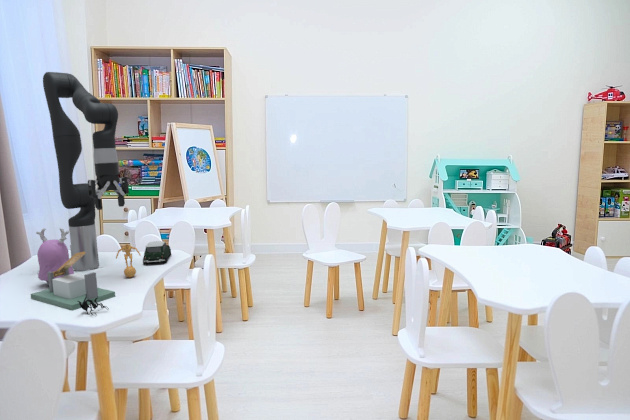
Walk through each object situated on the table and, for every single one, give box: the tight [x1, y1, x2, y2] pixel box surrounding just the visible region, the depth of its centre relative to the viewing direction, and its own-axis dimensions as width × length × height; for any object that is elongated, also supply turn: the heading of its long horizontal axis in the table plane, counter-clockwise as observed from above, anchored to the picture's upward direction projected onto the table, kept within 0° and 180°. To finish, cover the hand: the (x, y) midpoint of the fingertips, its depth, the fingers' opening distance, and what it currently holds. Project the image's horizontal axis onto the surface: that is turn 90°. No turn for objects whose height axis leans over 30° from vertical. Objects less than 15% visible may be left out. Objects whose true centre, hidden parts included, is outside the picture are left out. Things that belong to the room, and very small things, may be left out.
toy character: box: [35, 227, 75, 285], centre depth 162 cm, size 12×10×20 cm
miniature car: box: [142, 240, 172, 266], centre depth 194 cm, size 9×18×8 cm, turn 9°
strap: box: [53, 251, 86, 277], centre depth 147 cm, size 17×3×2 cm
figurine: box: [115, 243, 141, 278], centre depth 170 cm, size 8×6×12 cm
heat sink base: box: [30, 269, 116, 311], centre depth 148 cm, size 23×14×9 cm, turn 58°
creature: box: [77, 294, 110, 317], centre depth 134 cm, size 8×5×8 cm
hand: (110, 208), depth 165 cm, fingers open, 8 cm apart
